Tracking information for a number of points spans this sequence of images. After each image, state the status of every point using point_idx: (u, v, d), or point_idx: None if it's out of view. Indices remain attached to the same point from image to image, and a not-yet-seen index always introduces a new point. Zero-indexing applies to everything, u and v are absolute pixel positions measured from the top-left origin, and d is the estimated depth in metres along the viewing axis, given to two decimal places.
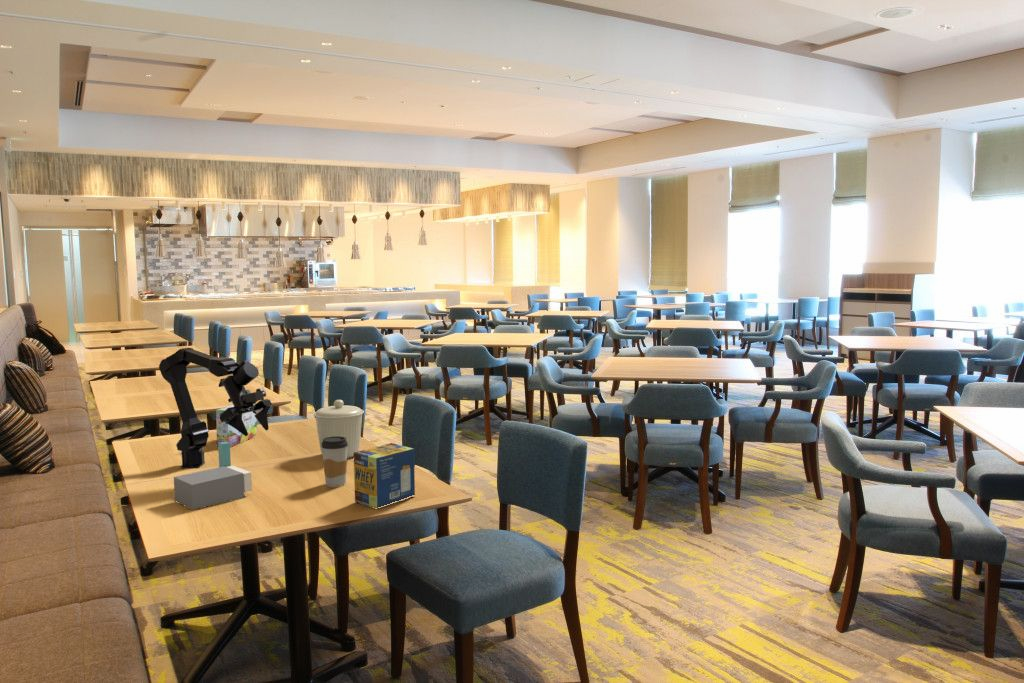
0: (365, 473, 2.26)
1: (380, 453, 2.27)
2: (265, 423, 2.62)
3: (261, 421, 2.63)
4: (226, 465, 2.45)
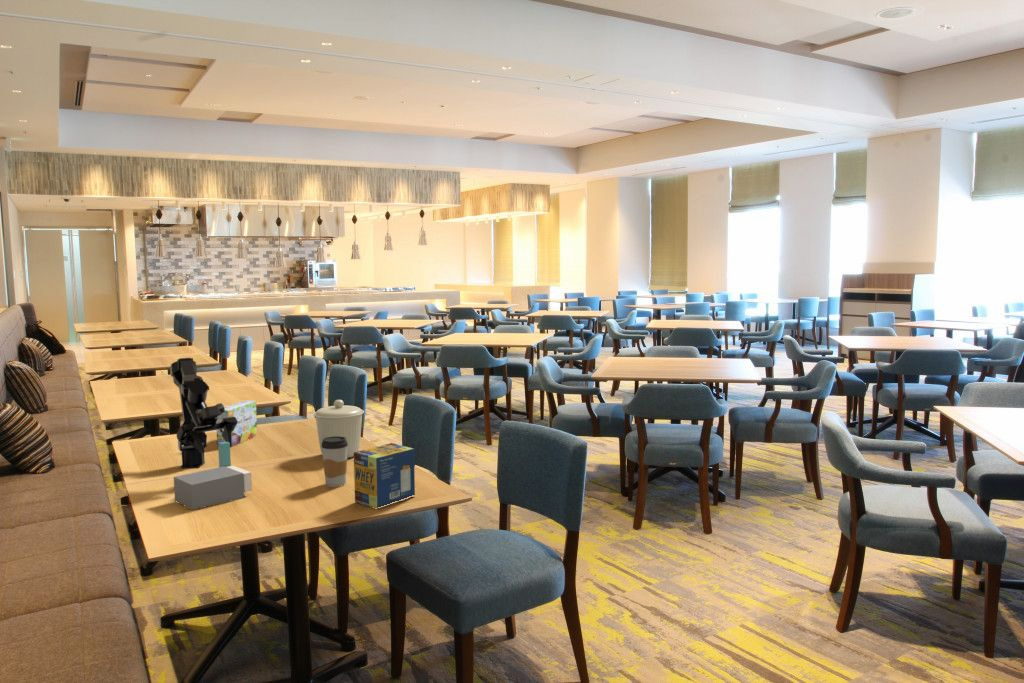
0: (365, 473, 2.26)
1: (380, 453, 2.27)
2: (228, 440, 2.52)
3: (226, 438, 2.54)
4: (226, 465, 2.45)
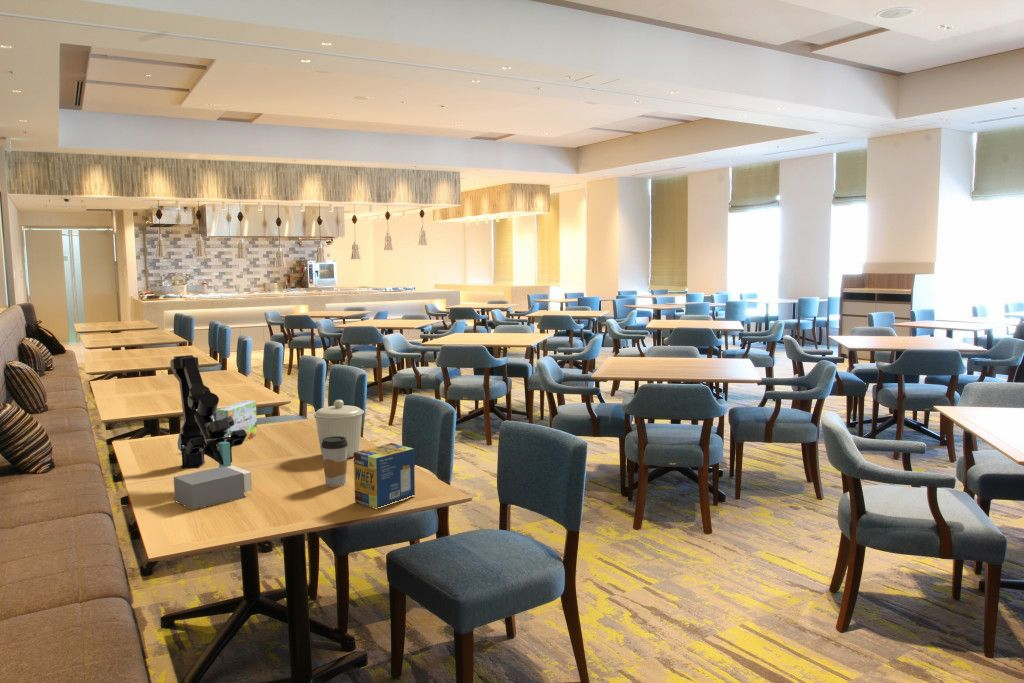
0: (365, 473, 2.26)
1: (380, 453, 2.27)
2: None
3: None
4: (226, 465, 2.45)
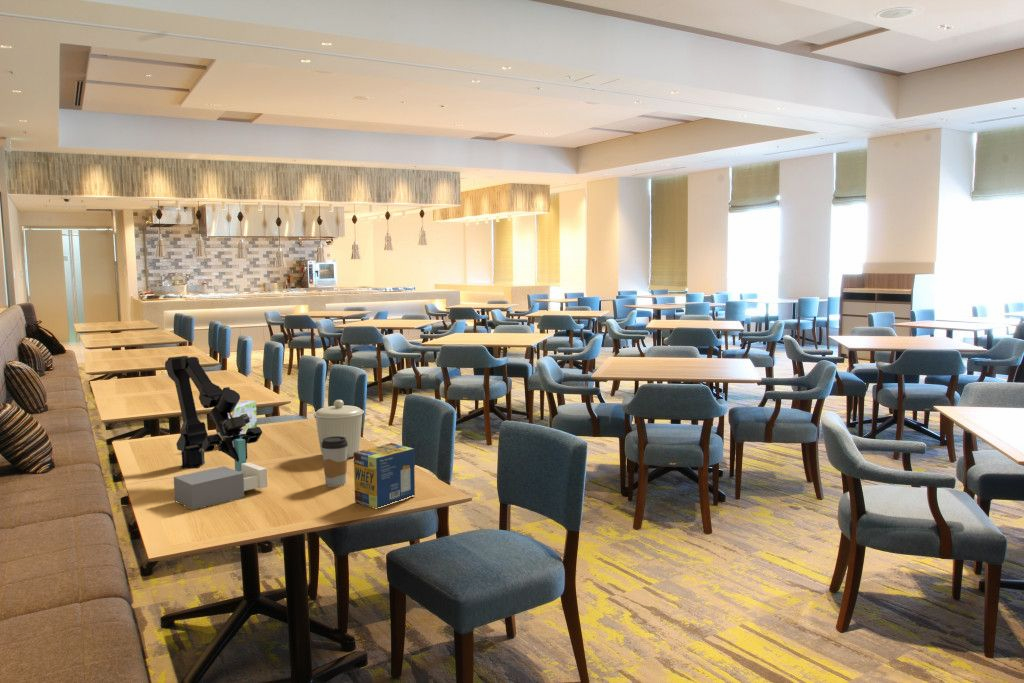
0: (365, 473, 2.26)
1: (380, 453, 2.27)
2: None
3: None
4: (242, 462, 2.49)
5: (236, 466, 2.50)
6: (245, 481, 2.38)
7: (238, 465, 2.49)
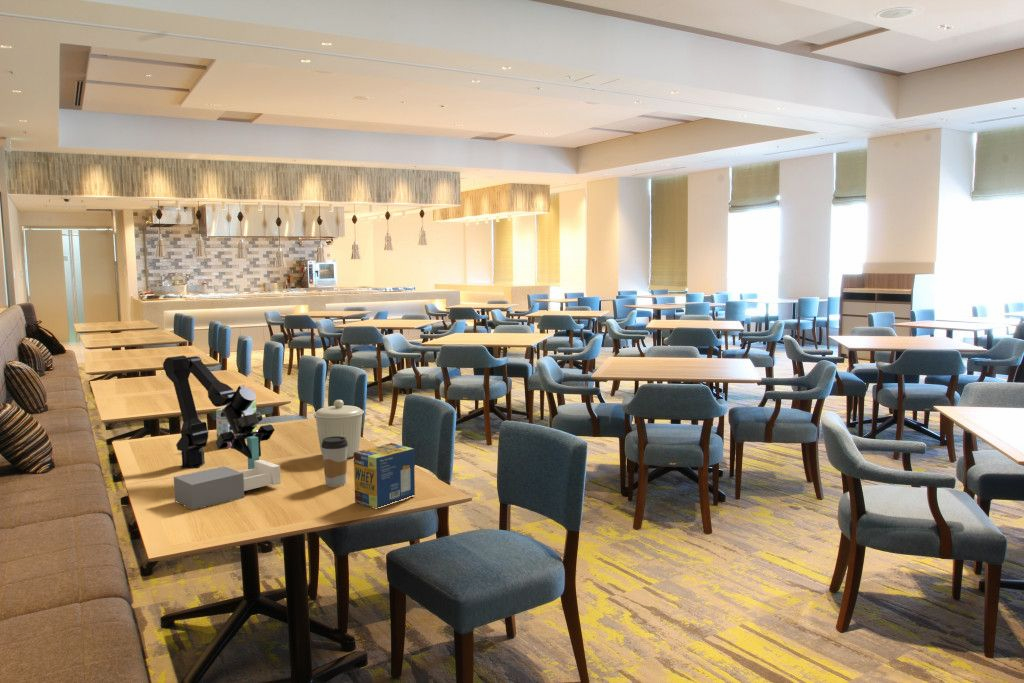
0: (365, 473, 2.26)
1: (380, 453, 2.27)
2: None
3: None
4: (255, 459, 2.52)
5: (249, 463, 2.53)
6: (259, 478, 2.41)
7: (251, 462, 2.52)
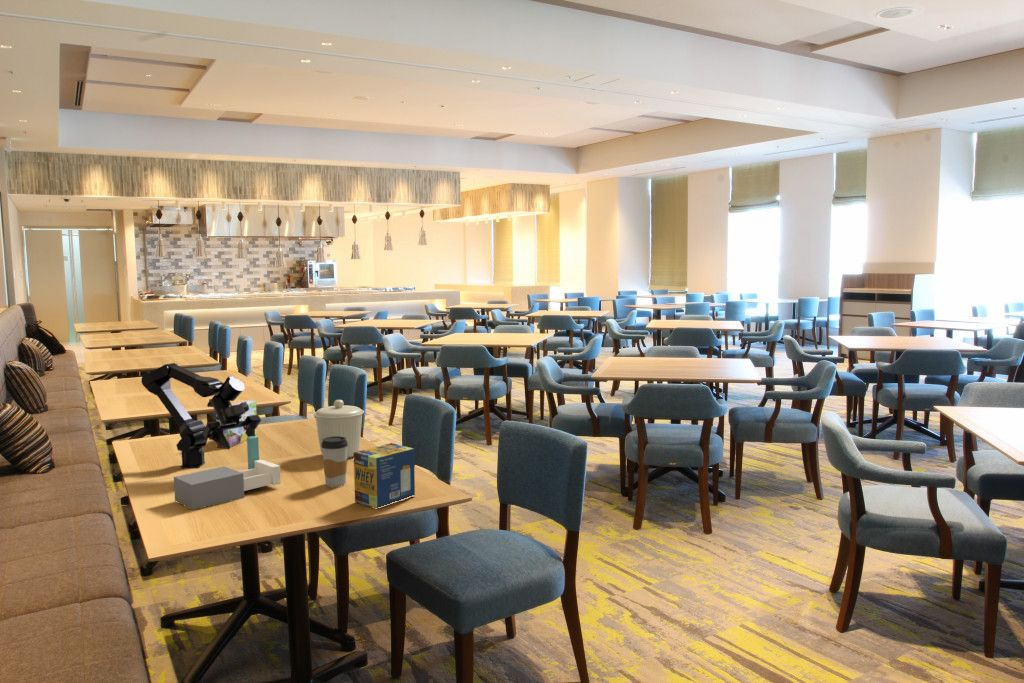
0: (365, 473, 2.26)
1: (380, 453, 2.27)
2: None
3: (250, 436, 2.63)
4: (255, 459, 2.52)
5: (249, 463, 2.53)
6: (259, 478, 2.41)
7: (251, 462, 2.52)
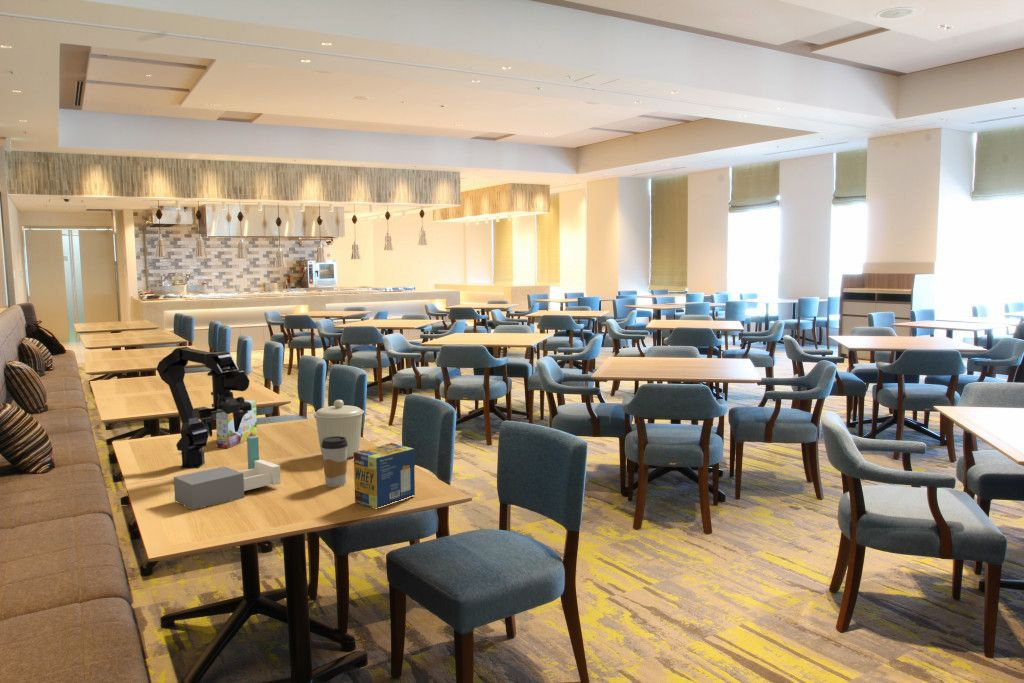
0: (365, 473, 2.26)
1: (380, 453, 2.27)
2: (236, 425, 2.67)
3: (235, 420, 2.68)
4: (255, 459, 2.52)
5: (249, 463, 2.53)
6: (259, 478, 2.41)
7: (251, 462, 2.52)
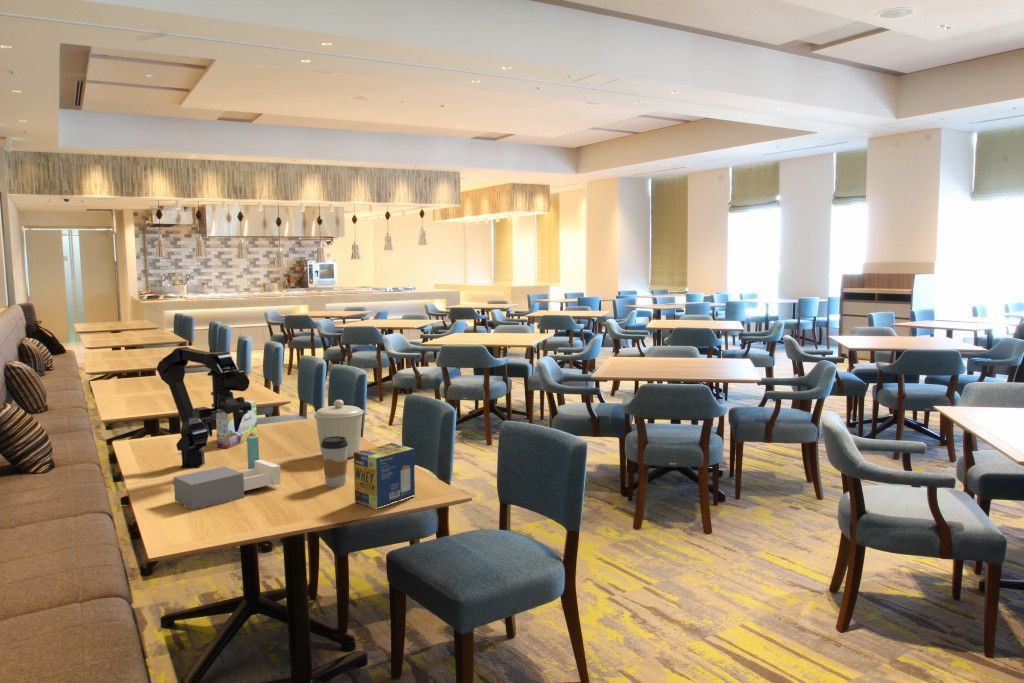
0: (365, 473, 2.26)
1: (380, 453, 2.27)
2: (236, 425, 2.67)
3: (235, 420, 2.68)
4: (255, 459, 2.52)
5: (249, 463, 2.53)
6: (259, 478, 2.41)
7: (251, 462, 2.52)
